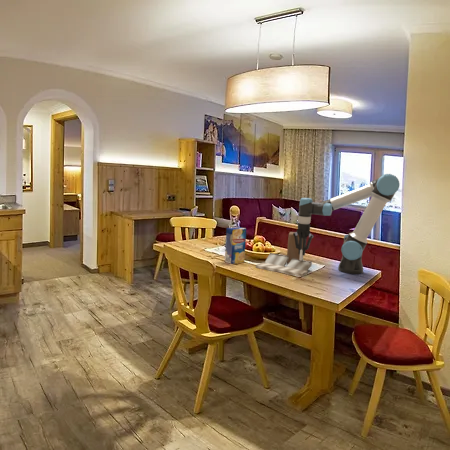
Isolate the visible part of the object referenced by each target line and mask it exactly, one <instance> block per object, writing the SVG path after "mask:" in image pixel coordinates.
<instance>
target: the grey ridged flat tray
mask: <svg viewBox="0 0 450 450" xmlns="http://www.w3.org/2000/svg"><path fill="white" fill-rule="evenodd" d="M255 268H257V269H262V270H266V271H270V272H276V273H280V274H281V273H282V274H286V275H291V276H296V277H304V276H306V275H307V274H308V271H309V270H308V271H306V270H301V269H295V268H290V267H287V266H286V265H285V266H279V265H274V264H269V263H265V262H260V263H257V264H255Z"/></svg>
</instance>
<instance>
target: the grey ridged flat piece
mask: <svg viewBox="0 0 450 450" xmlns="http://www.w3.org/2000/svg"><path fill="white" fill-rule="evenodd" d="M288 259H289V256H287V254H286V255H285V254H279V253H272V252H269V254H268V256H267V257H266V259H265V262H264V263H269V264H274V265H279V266H285V267H286V266H287V264H288V263H287V261H288Z"/></svg>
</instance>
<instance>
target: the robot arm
mask: <svg viewBox="0 0 450 450" xmlns="http://www.w3.org/2000/svg"><path fill="white" fill-rule="evenodd" d="M400 184H401V183H400V180H399V178H398V177H397V176H396V175H394V174H391V173H385V174H383V175H381V176H379V177H378V178H376V179H374V180H372V181H370V182H369V184H366V185H363V186H361V187H358V188H355V189H353V190H350V191H347V192H345V193H342V194H340V195H337V196H334V197H332V198H329V199H327V200H323V201H320V202H318V201H317V202H315V201H314V200H313V198H310V197H300V200H299V205H298V207H299V208H298V220H297V221H298V223H297V229H296V231H294V232H295V233H293V235H294V238H295V245H296V248H297V249H299V253H298V254H299V255H300V258H299V260H300V261H302V260H304V256H306V251H307V250H309V249H310V245H311V242H312V239H313V238H314V235H313V234H312V233H311V224H310V223H311V221H312V220H311V219H312V215H315V216H316V215H318V216H324V217H325V216H329V217H330V216H332V213H333V211H335V210H338V209H341V208H344V207H346V206H349V205H352V204H354V203H357V202H361V201H362V200H365V199H368V198H370V200H369V202H368V204H367V206H366V208H365V209H364V211H363V213H362V215H361V216H360V219H359V221H358V223H357V224H356V226H355V228H354V230H353V231H352V232H349V233H348V234H345V235H344V237H343V244H342V246H341V249H340V251H341V254H342V256H341V259H340V262H339V264H338V267H337V270H338V271H339V272H341V273H345V274H351V275H352V274H353V275H361V274H363V273H364V266H363V262H362V257H363V251H365V248H366V246H367V244H368V237H369V235H370V234H371V232H372V230H373V228H374V226H375V225H376V222H377V221H378V219H379V217H380V216H381V214H382V213H383V210H384V209H385V207H386V204H387V203H389V202H391V201H392V200H393V198H394V196H395V194H396V193H397V192H398V191H399V188H400ZM297 235H299V243H298V236H297ZM302 239H303V249H302ZM301 249H302V250H301ZM360 273H361V274H360Z"/></svg>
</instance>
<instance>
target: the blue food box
mask: <svg viewBox="0 0 450 450" xmlns="http://www.w3.org/2000/svg"><path fill="white" fill-rule="evenodd" d="M225 234H226V235H225V248H224V249H225V251H224V253H225V254H224V262H225V263H228V264H232V265H234V264H239V263H245V258H246V242H247V241H246V240H247V228H246V227H241V226H238V227H226V233H225Z"/></svg>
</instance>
